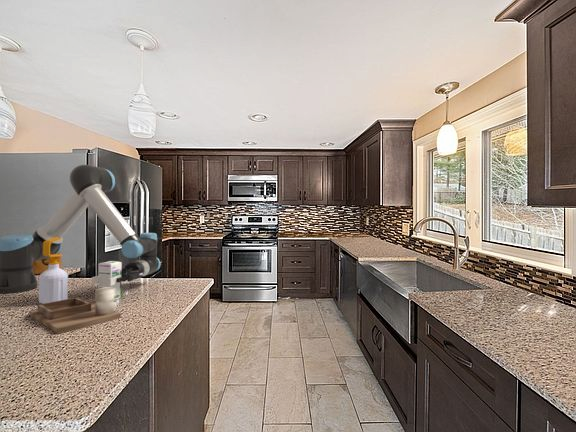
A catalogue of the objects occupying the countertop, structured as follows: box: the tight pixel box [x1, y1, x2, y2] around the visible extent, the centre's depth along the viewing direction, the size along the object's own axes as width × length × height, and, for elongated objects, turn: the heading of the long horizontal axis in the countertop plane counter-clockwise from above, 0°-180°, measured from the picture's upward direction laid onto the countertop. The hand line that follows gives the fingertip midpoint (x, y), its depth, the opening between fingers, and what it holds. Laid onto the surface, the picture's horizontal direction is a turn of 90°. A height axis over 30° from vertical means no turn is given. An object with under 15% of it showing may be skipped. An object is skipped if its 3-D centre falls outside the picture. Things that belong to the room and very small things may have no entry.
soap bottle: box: [38, 237, 69, 304], centre depth 124 cm, size 9×9×25 cm
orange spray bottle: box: [32, 232, 62, 275], centre depth 171 cm, size 10×12×22 cm
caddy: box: [28, 287, 122, 335], centre depth 108 cm, size 25×18×10 cm
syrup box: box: [97, 260, 123, 301], centre depth 124 cm, size 6×6×14 cm
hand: (101, 281), depth 119 cm, fingers closed on syrup box, 6 cm apart
